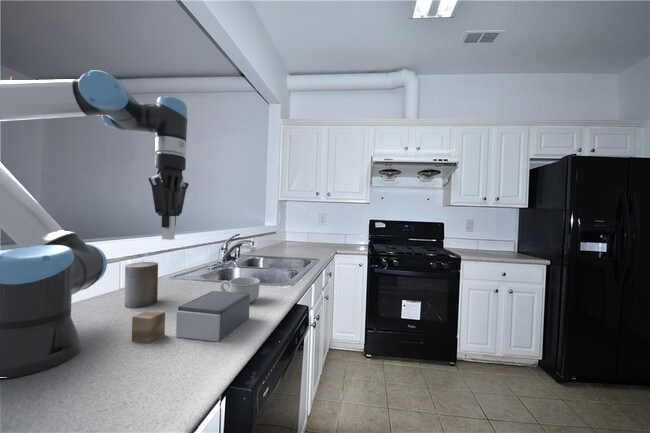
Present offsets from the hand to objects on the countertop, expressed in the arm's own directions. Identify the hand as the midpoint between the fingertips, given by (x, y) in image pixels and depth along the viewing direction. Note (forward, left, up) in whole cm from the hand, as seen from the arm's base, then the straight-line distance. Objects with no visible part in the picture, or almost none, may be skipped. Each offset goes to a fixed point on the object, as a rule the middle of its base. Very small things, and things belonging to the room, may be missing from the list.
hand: (168, 239), depth 78 cm
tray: (+10, -9, -24) cm, 28 cm away
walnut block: (-4, -6, -24) cm, 26 cm away
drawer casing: (+12, -7, -24) cm, 28 cm away
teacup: (+25, +12, -25) cm, 37 cm away
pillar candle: (-5, +26, -25) cm, 36 cm away
